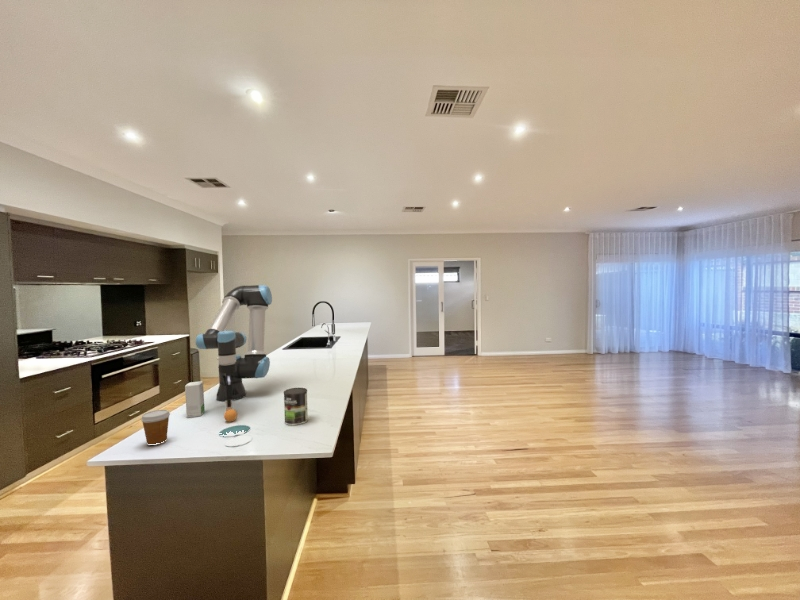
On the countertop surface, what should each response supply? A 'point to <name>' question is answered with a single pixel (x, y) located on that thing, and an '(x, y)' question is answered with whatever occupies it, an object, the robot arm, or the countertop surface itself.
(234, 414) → the ball
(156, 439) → the disposable coffee cup
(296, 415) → the coffee can
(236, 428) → the disc
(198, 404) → the skincare box
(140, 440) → the countertop surface
